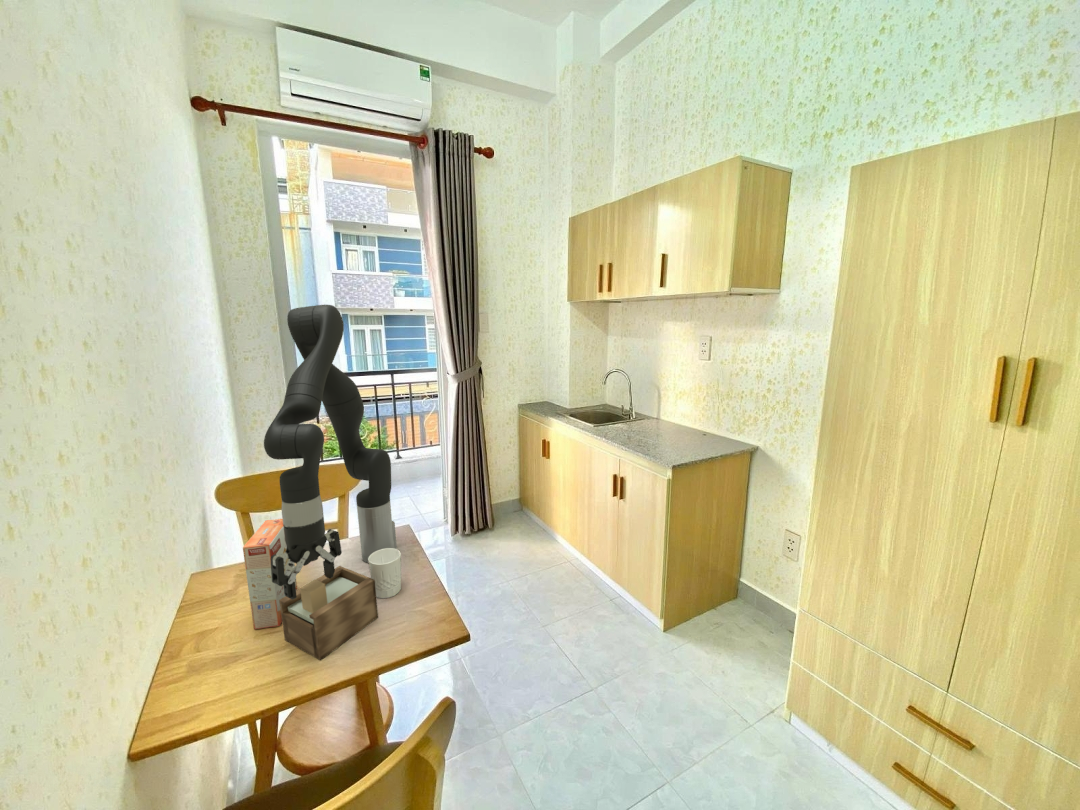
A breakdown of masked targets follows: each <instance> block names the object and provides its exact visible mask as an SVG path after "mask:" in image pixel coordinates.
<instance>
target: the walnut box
mask: <svg viewBox="0 0 1080 810" xmlns="http://www.w3.org/2000/svg"><path fill="white" fill-rule="evenodd" d="M334 569H335V572H334V574H333V577H332V578H327V577H325V575H324V574H323V575H321V576H319V577H317V578H316V579H315V578H314V580H318V581H320V582H322V583H324V584H325V585H326V584H327V583H329V582H331V581H332V580H334V579H336V578H338V577H339V576H340V577H343V578H345V579H347V580H350V581H352V582H355V583H357V584H358V585H356V586H355V587H353V588H352V589H350V590H348V591H347V592H345V593H344V594H342V595H341V596H339V597H337V598H336V599H334V600H333V601H331V602H330V603H328V604H326V605H325V606H323V607H322V608H320V609H318V610H317V611H315V612H314V613H312V614H311V615H309V616H310V618H311V619H313V621H314V624H312V623H310V622H308V621H307V620H305V619H303V618H301V617H299V616H297V615H295V614H293V613H291V612H289V611H288V606H290V605H292V604H293V603H295V602H297V601H298V600H300V599H301V591H300V588H297V590H296V596H297V597H296V598H295V599H293V600H292V599H290V598H288V597H286V596H285V597H284V598H282V599H280V600H279V602H280V610H281V617H282V623H281V625H282V631H283V635H284V636H283V637H284V641H285V642H287V643H289V644H291V646H295V647H297V649H299V650H301V651H303V652H305V653H306V654H308V655H310V656H312V657H313V658H316V659H317V660H318V661H322V660H324V658H326V657H327V656H328V655H330V654H331V653H332V652H334V651H335V650H336V649H338V648H340V646H342V645H344V644H345V643H346V642H347V641H349V640H351V638H353V637H354V636H356V635H357V634H358V633H360V632H361V631H363V629H365V628H367V627H368V626H369V625H370V624H371V623H373V622H374V621H376V620H377V619H378V618H379V612H378V611H379V610H378V601H377V600H378V599H377V597H376V589H375V580H374V579H372V578H371V577H369V576H367V575H364V574H362V573H359V572H356V571H354V570H352V569H349V568H346V567H344V566H342V565H339V566H337V567H334Z"/></svg>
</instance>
